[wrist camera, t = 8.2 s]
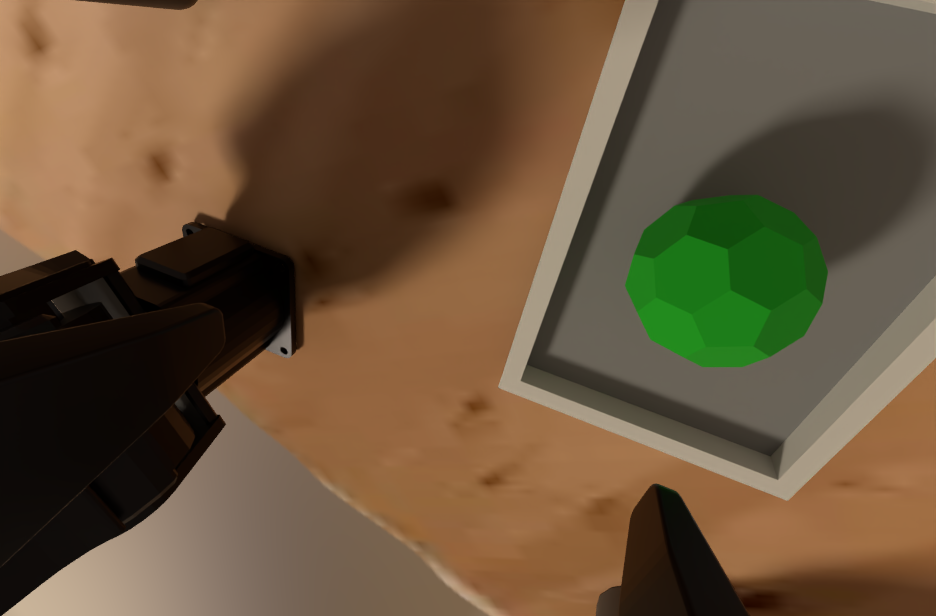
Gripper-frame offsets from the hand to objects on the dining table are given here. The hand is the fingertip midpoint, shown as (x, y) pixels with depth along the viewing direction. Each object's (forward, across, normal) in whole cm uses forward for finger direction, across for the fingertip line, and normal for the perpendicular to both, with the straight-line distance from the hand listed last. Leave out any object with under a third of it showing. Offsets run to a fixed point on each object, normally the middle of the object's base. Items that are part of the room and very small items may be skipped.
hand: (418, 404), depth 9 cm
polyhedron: (+10, -6, -2) cm, 12 cm away
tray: (+11, -7, -2) cm, 13 cm away
